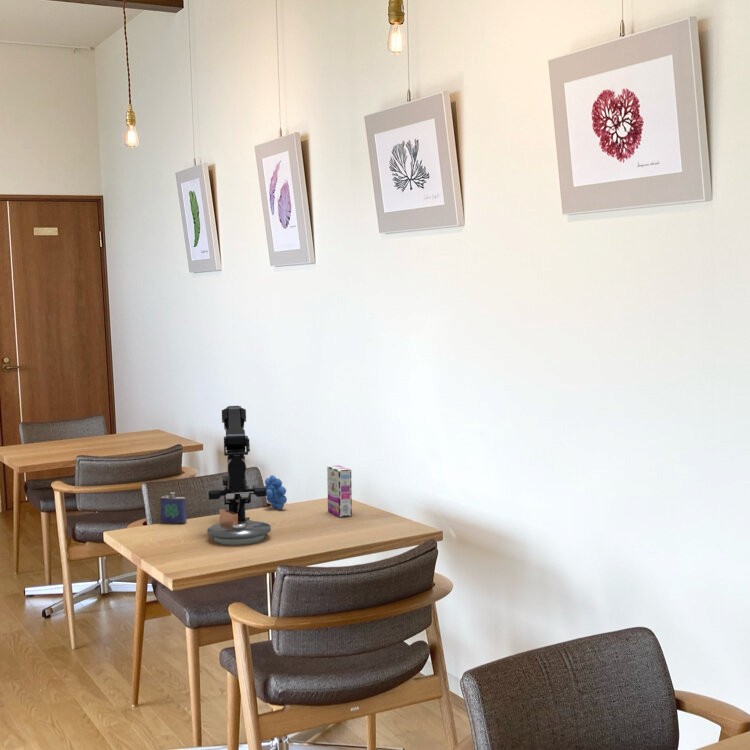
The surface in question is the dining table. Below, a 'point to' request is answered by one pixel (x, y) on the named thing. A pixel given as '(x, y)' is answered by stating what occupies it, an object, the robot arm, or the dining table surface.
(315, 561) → the dining table surface
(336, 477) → the candy bar box
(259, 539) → the valve base
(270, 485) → the grapes
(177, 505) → the flask
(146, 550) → the dining table surface
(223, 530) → the grey disc with hub
